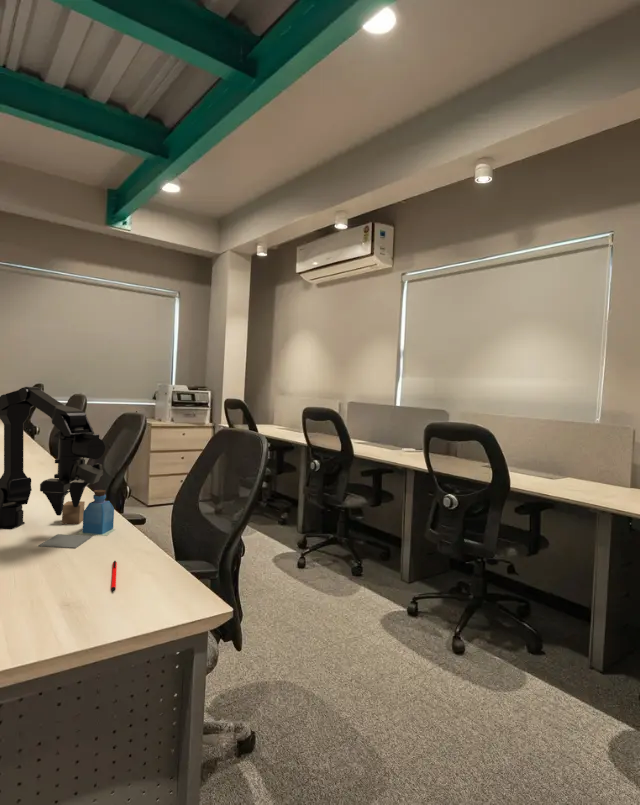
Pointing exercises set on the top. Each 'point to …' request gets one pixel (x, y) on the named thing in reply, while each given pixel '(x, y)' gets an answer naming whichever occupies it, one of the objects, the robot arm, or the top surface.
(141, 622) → the top surface
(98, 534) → the code mat
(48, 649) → the top surface
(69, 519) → the walnut block
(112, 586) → the pen
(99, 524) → the perfume bottle
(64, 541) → the slate coaster
